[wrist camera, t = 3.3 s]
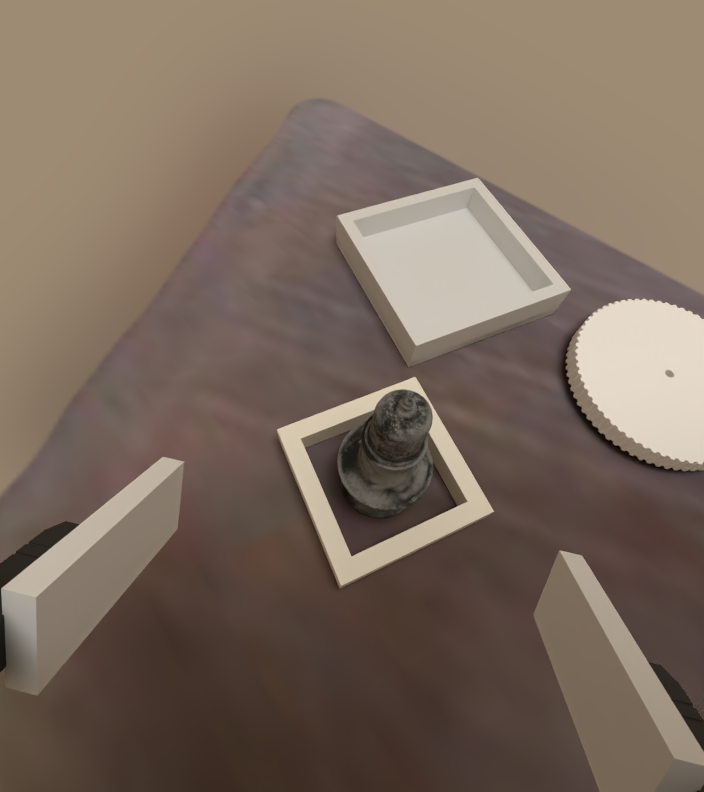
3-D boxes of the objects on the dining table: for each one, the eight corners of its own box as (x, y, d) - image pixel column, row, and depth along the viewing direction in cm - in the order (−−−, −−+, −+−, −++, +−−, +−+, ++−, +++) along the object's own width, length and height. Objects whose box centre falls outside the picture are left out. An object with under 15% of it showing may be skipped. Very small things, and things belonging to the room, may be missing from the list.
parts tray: (553, 313, 38) (571, 289, 35) (408, 367, 35) (415, 346, 32) (468, 205, 44) (477, 177, 41) (335, 242, 40) (337, 215, 37)
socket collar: (483, 518, 30) (494, 511, 28) (339, 588, 27) (340, 586, 25) (410, 390, 34) (415, 376, 32) (279, 440, 31) (276, 429, 29)
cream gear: (766, 393, 36) (795, 378, 34) (689, 516, 31) (718, 507, 29) (614, 291, 40) (632, 271, 38) (525, 385, 35) (539, 368, 33)
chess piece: (438, 497, 30) (502, 427, 19) (361, 539, 29) (385, 486, 18) (394, 425, 32) (430, 326, 22) (320, 460, 31) (321, 372, 20)
